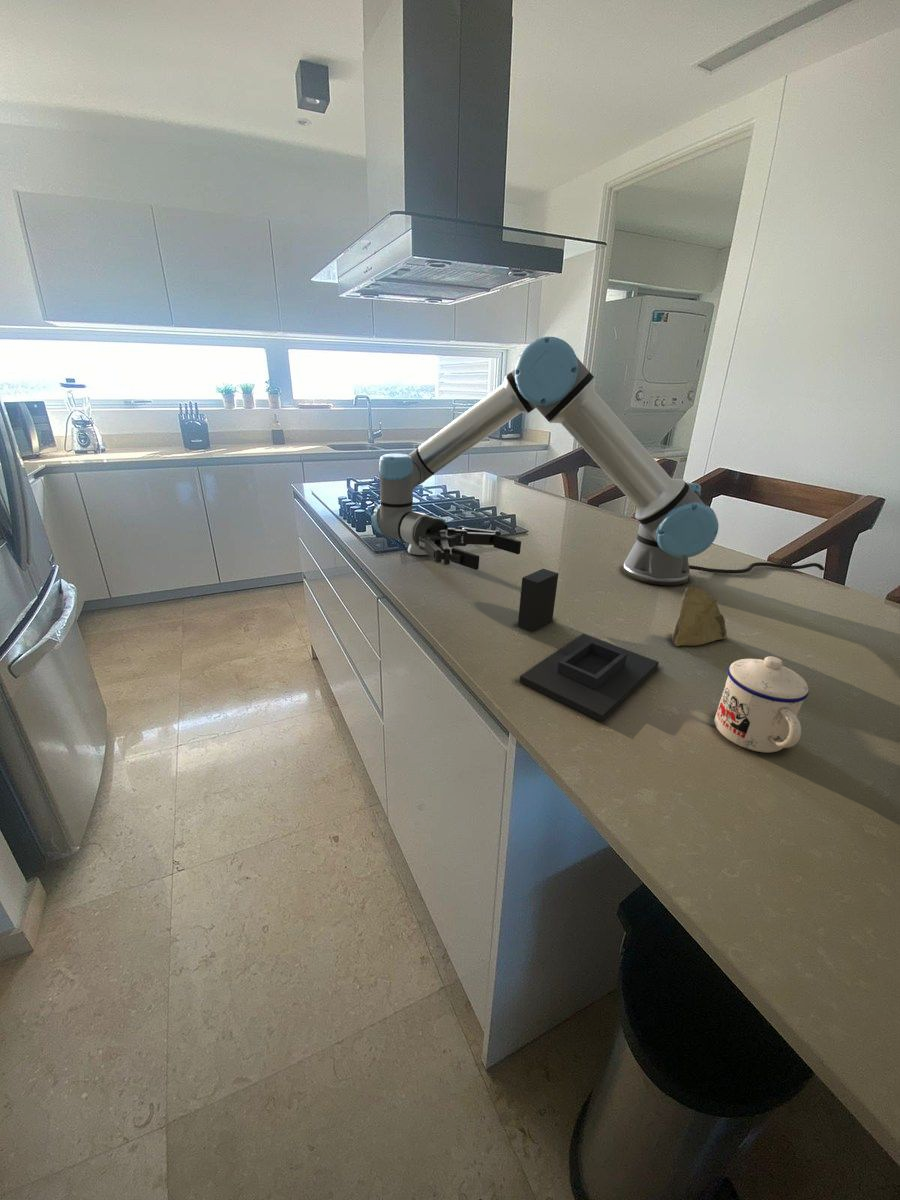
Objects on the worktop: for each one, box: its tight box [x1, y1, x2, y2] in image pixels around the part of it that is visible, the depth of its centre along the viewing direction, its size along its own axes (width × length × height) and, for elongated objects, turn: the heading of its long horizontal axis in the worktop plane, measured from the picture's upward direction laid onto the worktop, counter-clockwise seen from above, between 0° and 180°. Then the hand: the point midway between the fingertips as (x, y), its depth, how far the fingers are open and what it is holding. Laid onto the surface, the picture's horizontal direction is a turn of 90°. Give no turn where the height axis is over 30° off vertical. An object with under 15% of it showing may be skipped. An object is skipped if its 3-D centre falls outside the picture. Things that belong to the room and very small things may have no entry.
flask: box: [407, 544, 429, 556], centre depth 131 cm, size 7×7×10 cm
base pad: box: [519, 633, 660, 723], centre depth 78 cm, size 20×14×3 cm
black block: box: [517, 568, 559, 632], centre depth 93 cm, size 7×4×10 cm, turn 137°
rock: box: [671, 586, 728, 647], centre depth 89 cm, size 11×9×10 cm
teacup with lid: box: [714, 655, 810, 753], centre depth 63 cm, size 12×9×12 cm
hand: (499, 555), depth 97 cm, fingers open, 13 cm apart
